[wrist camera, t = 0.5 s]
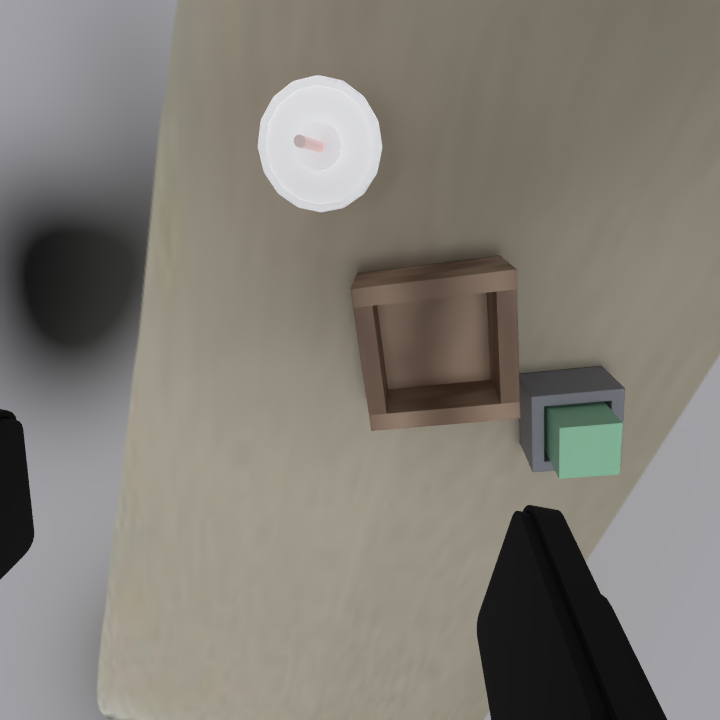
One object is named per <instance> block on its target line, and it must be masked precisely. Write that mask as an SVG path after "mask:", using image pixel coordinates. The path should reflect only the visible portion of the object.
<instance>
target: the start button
mask: <svg viewBox="0 0 720 720" xmlns="http://www.w3.org/2000/svg"><path fill="white" fill-rule="evenodd" d="M622 428H623V423H622V421H621V420H620V419H619V418H618V417H617V416H616V415H615V414H614V412H613V411H612V410H611V409H610V408H609V407H608V406H607V404H606V403H605V402H604V401H602V402H590V403H578V404H567V405H555V406H544V450H545V452H546V454H547V456H548V458H549V460H550V462H551V464H552V465H553V467H554V469H555V471H556V473H557V475H558V477H559V479H561V478H575V477H590V476H605V475H619V474H620V463H621V446H622Z"/></svg>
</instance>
